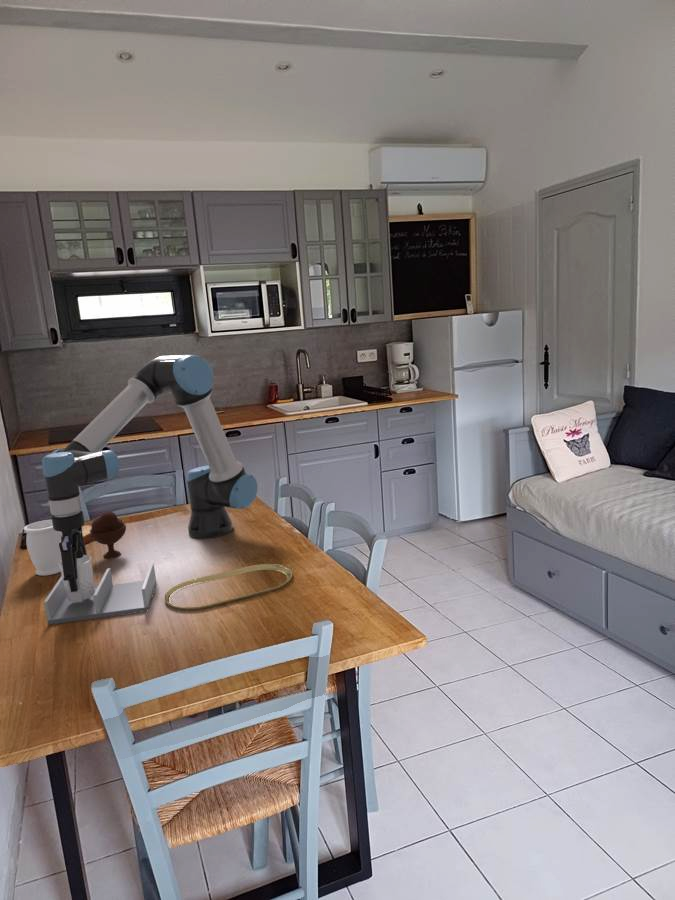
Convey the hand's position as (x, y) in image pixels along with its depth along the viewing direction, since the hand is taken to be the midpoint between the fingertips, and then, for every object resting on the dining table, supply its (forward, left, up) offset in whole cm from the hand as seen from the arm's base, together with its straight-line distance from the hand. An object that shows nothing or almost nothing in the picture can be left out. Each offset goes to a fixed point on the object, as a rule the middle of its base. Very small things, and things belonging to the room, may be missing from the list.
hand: (81, 595), depth 167 cm
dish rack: (-6, 0, -3) cm, 7 cm away
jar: (+16, -30, -3) cm, 34 cm away
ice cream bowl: (-1, -37, -3) cm, 37 cm away
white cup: (0, 0, 0) cm, 0 cm away
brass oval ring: (-39, +1, -4) cm, 39 cm away
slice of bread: (+12, -58, -4) cm, 60 cm away
